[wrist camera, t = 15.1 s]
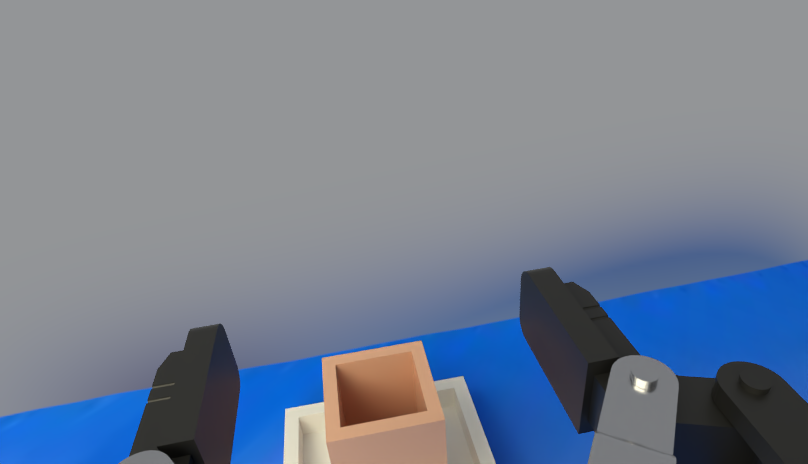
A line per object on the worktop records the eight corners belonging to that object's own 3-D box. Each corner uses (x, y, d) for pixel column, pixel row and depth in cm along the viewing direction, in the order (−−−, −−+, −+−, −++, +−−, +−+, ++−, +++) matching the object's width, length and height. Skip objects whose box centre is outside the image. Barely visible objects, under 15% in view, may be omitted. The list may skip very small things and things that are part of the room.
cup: (429, 442, 38) (421, 340, 33) (450, 527, 33) (445, 419, 28) (343, 459, 38) (321, 358, 33) (350, 548, 32) (326, 442, 27)
